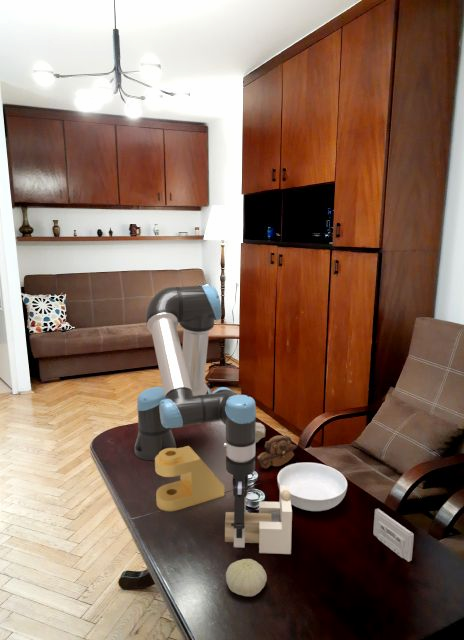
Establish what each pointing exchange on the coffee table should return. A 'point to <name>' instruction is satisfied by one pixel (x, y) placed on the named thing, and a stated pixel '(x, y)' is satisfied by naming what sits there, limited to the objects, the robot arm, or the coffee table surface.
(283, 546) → the white notched block
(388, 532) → the cassette
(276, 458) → the wooden carving
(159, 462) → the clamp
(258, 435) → the white rock
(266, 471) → the coffee table surface
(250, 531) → the rail
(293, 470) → the serving bowl
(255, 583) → the sea urchin shell
